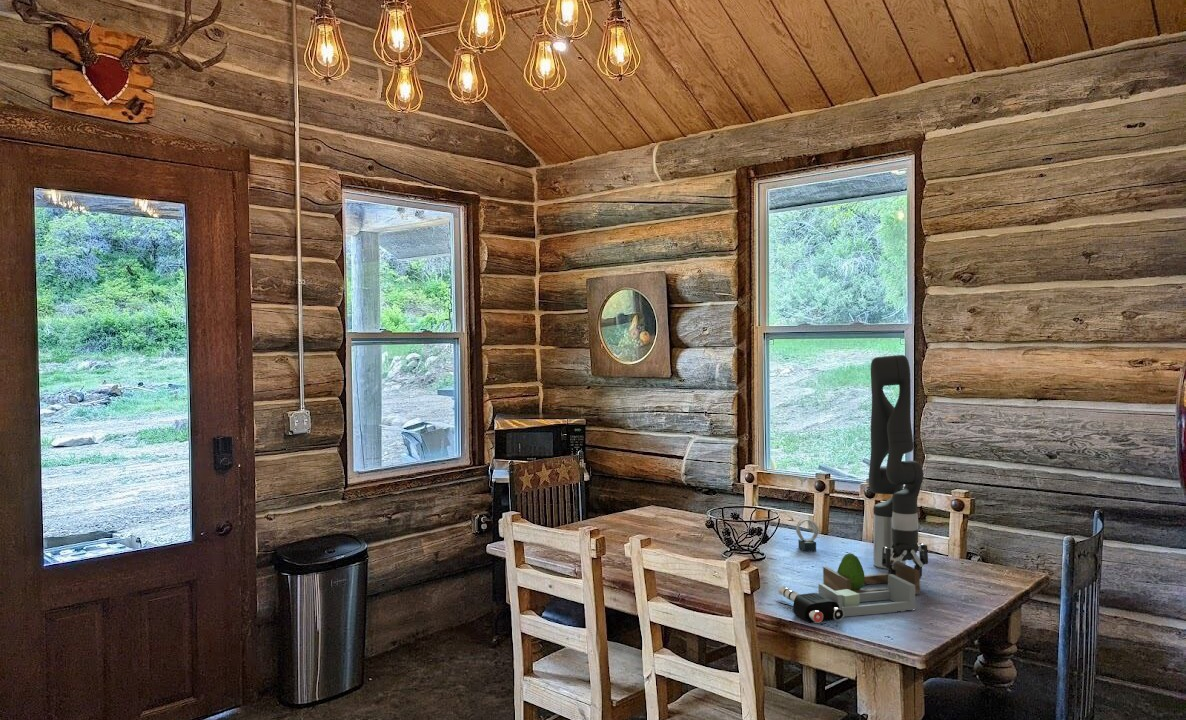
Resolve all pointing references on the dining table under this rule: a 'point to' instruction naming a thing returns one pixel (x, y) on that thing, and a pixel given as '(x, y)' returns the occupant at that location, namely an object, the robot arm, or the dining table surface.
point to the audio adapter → (812, 606)
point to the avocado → (852, 571)
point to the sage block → (849, 597)
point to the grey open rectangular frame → (877, 598)
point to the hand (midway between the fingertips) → (905, 579)
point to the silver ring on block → (807, 544)
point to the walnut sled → (871, 579)
